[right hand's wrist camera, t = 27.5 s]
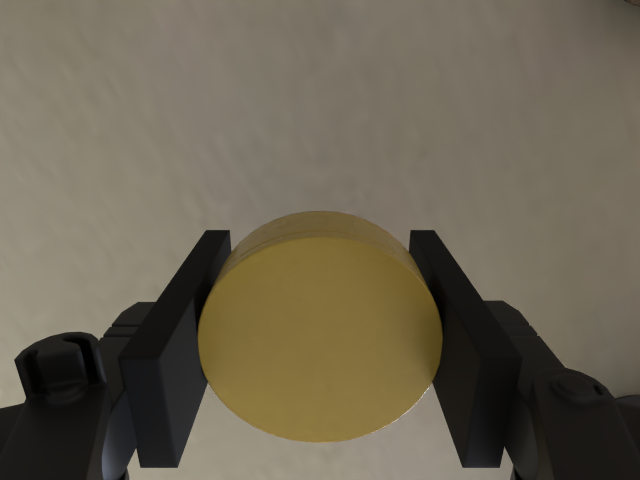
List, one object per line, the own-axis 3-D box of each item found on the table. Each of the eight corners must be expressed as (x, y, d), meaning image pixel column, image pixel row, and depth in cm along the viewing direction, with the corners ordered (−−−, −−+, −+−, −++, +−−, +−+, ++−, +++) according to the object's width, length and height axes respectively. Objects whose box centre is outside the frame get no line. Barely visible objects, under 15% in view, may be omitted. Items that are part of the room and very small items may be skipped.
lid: (285, 421, 13) (280, 473, 12) (171, 275, 12) (145, 311, 10) (459, 343, 12) (481, 387, 11) (364, 168, 10) (373, 187, 9)
